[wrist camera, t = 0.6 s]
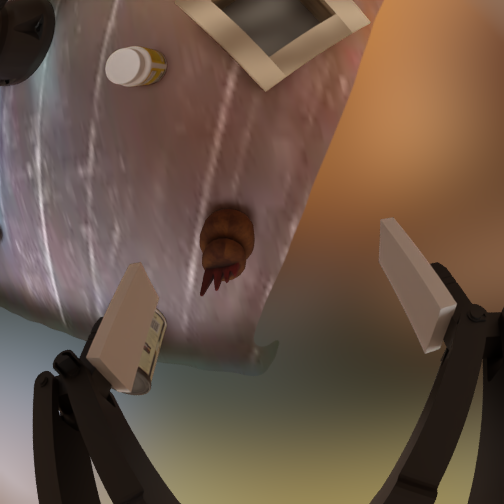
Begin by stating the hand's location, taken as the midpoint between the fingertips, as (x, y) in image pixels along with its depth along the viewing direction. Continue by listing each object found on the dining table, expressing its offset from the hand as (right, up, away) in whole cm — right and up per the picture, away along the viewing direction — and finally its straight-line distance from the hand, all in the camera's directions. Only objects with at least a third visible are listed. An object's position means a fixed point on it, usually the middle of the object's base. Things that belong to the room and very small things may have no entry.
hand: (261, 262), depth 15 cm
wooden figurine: (-4, +5, +26) cm, 27 cm away
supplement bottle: (-13, +23, +14) cm, 30 cm away
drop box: (+1, +27, +11) cm, 29 cm away
